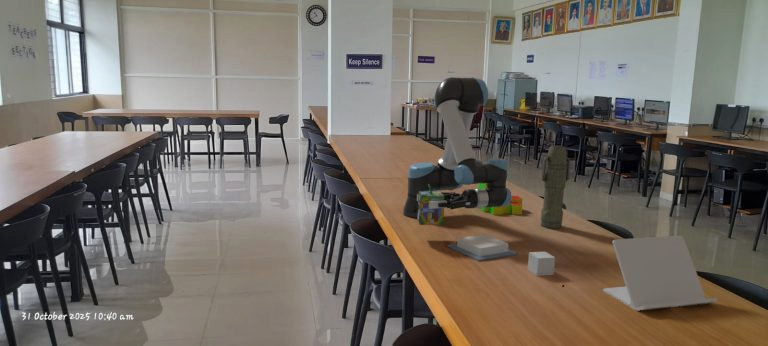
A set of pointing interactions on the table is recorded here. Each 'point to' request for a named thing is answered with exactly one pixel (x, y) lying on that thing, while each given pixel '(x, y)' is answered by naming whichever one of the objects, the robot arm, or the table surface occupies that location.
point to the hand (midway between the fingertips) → (423, 201)
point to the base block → (482, 245)
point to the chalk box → (430, 215)
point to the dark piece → (554, 186)
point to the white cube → (541, 263)
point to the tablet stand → (657, 274)
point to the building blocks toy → (512, 208)
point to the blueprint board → (481, 258)
